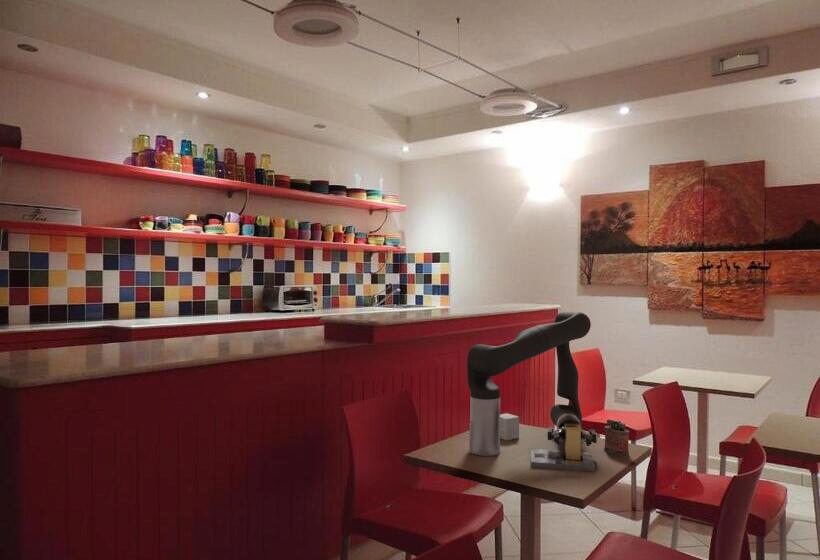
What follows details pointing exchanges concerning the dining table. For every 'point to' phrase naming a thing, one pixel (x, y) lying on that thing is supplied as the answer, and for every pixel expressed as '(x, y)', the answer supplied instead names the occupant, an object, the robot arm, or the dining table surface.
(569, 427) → the yellow rectangular block
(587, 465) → the grey slotted tray
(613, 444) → the lighter
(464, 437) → the dining table surface
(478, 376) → the robot arm
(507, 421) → the product box
